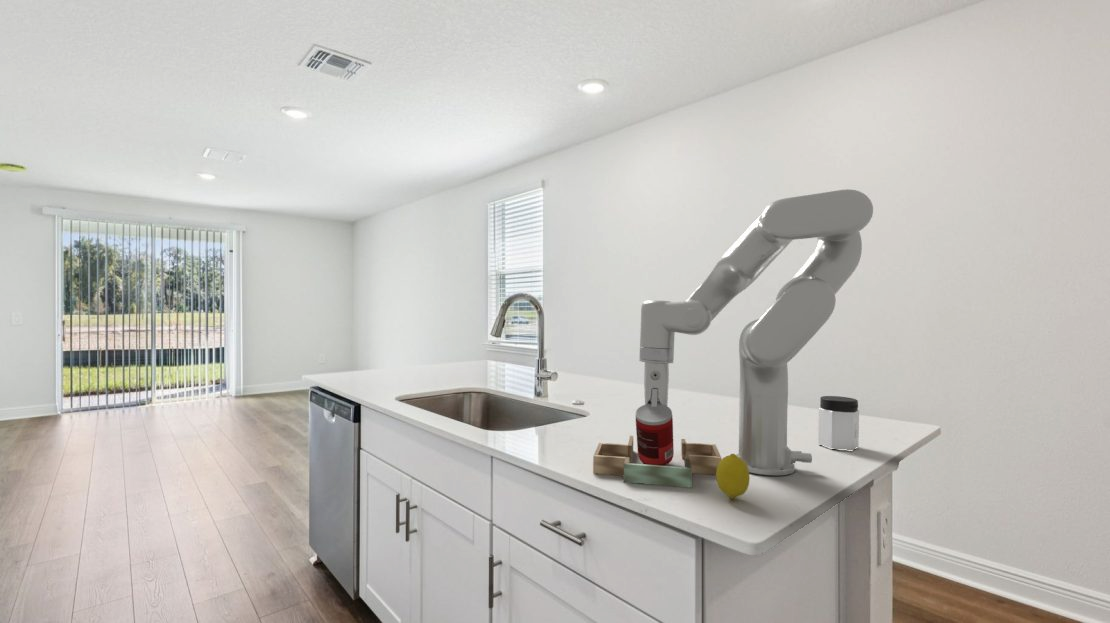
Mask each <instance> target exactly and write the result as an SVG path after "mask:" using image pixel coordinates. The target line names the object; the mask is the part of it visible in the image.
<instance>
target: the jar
mask: <svg viewBox="0 0 1110 623" xmlns="http://www.w3.org/2000/svg"><path fill="white" fill-rule="evenodd" d="M819 399H820V400H819V401H820V407H819V408H818V422H817V423H818V426H817V427H818V428H817V430H818V431H817V433H818V434H817V435H818V436H817V437H818V438H817V440H818V441H817V445H818V444H821V445H824V446H827V447H830V448H834V449H847V450H854V449H855V448H856V447H858V448H859V443H860V442H859V440H860V439H859V437H860V435H859V433H860V432H859V430H860V426H859V425H860V411H859V401H858V399H856V398H853V397H848V396H847V397H846V396H840V395H839V396H838V395H822V396H821V397H820V398H819ZM854 451H855V450H854Z"/></svg>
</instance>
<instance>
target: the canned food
mask: <svg viewBox="0 0 1110 623" xmlns="http://www.w3.org/2000/svg"><path fill="white" fill-rule="evenodd" d="M651 405H652V403H651V404H648V405H647V404H646V405H645V404H642V405H641V406H639V407H637V409H636V410H635V427H636V428H635V430H636V446H637V448H636V449H637V456H638V458H639V460H640V462H641V463H642V464H646V465H660V466H668V465H669V464H670V463H671V462H672V461H673V458H674V454H675V453H674V451H675V449H674V448H675V447H674V423H673V421H674V420H673V410H672V409H671V408H670V407H669V406H665V405H662V406H661V404H657V407H651Z"/></svg>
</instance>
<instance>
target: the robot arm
mask: <svg viewBox="0 0 1110 623" xmlns="http://www.w3.org/2000/svg"><path fill="white" fill-rule="evenodd" d="M873 215H874V205H873V203H872V201H871V199H870V198H869V196H868V195H866V194H865V193H864V192H861V191H860V190H855V189H847V188H846V189H838V190H831V191H825V192H819V193H811V194H805V195H797V196H791V197H786V198H781V199H777V200H774V201H772V202H771V203H770V204H769V205H767V206H766V207H765V208H764V210H763V211H762V213H761V214H760V215H759V216H757V218H756V219H755V220H754V221H753V222H752V224H750V226H748V228H746V230H745V231H744V232H743V234H741V236H740V237H739V238H738V239H737V240H736V241H735V242H734V243H733V244H732V246H731V247H730V248H729V249H727V251H726V252H725V253H724V254H723V255H722V256H721V257H720V259H719V260H718V262H716V264H715V265H714V268H712V271H711V272H710V273H709V275H708V276H707V277H706V279H704V281H703V282H702V283H701V284H700V285H699V286H698V287H697V288H696V289H695V291H693V293H692V294H690V295H689V297H688V298H687V299H686V300H685V301H683V300H682V301H674V302H673V301H669V300H658V299H657V300H652V299H651V300H645V301H644V302H642V304H641V308H640V309H641V310H640V312H641V313H640V331H639V332H640V336H639V337H640V338H639V362H642V363H644V378H643V380H644V381H643V384H644V385H643V387H644V388H643V389H644V390H643V391H644V405H646V404H647V405H648V404H651V403H652V405H651V407H657V404H661V406H662V405H665V406H667V407H669V406H668V403H669V402H668V401H669V383H670V382H669V380H670V378H669V375H670V372H669V370H670V368H669V366H670V365H669V364H673V363H674V357H675V356H674V355H675V333H676V334H677V333H678V334H682V335H683V334H684V335H688V336H697V335H701V334H702V333H705V332H706V331H707V330H708V329H709V327H710V325H711V322H712V321H713V320H714V319H715V318H716V317H717V316H718V315H719V314H720V312H722V311H723V309H724V308H726V306H728V305H729V303H730V302H731V301H732V300H734V298H736V297H737V296H738V295H739V294H740V293H742V292H743V291H745V290H746V289H748V287H749V286H751V285H752V284H753V283H754V282H755V281H756V280H757V279H758V278H759V277H760V276H761V275H762V274H763V272H765V271H766V269H767V268H768V267H769V266H770V265H771V264H772V263H773V262H774V260H776V258H778V256H779V255H781V253H782V252H783V251H785V249H786V248H787V247H788V246H789V245H790V244H791V242H793V241H794V240H795V241H796V240H803V239H805V240H807V239H815V238H816V239H817V243H816V248H815V249H814V251H813V252H812V253H811V255H810V256H809V257H808V258H807V260H806V262H804V264H803V265H802V266H801V267H800V269H798V270H797V272H796V273H795V274H794V275H793V276H792V277H791V278H790V279H789V280H788V281H787V282H786V283H785V284H784V285H782V287H781V288H780V289H779V290H778V292H777V294H776V297H775V301H774V302H773V303H772V304H771V305H770V307H768V308H767V310H766V311H765V312H764V313H763V315H761V317H759V318H757V319H754V320H752V321H750V322H749V323H748V324H747V325H745V326H744V328H743V329H742V330H741V332H740V335H739V336H740V337H739V340H738V348H739V349H738V352H739V353H738V354H739V402H738V403H739V404H738V405H739V411H738V412H739V413H738V414H739V415H738V417H739V418H738V454H737V453H736V454H735V455H736V456H738V457H740V458H741V459H742V460H743V461H744V462H745V463H746V465H747V467H748V470H749V474H757V475H763V476H786V475H791V474H793V473H794V472H795V469H796V468H795V467H796V465H795V464H796V462H799V463H800V462H801V463H805V464H812V462H813V455H812V453H811V452H810V453H809V452H802V451H801V450H791V449H790V447H788V409H789V408H788V407H789V406H788V403H789V402H788V400H789V399H788V398H789V397H788V396H789V373H788V370H789V369H788V363H789V362H790V361H792V360H793V359H794V357H795V356H797V354H798V353H799V352H801V350H802V349H803V348H804V347H805V346H806V345H807V344H808V343H809V341H810V340H812V338H813V337H814V336H815V335H816V334H817V333H818V332H819V330H821V329H822V327H823V326H824V325H825V324H826V323H827V321H828V320H829V319H830V318H831V316H832V314H833V313H834V310H835V307H836V303H837V302H836V295H837V293H838V291H840V289H841V288H842V287H843V286H844V285H845V284H846V282H847V281H848V279H850V277H851V276H852V275H853V273H854V272H855V271H856V270H857V267H858V266H859V263H860V260H861V257H862V248H863V247H862V246H863V244H862V237H861V234H860V233H861V231H862V230H863V229H864V228H866V226H868V225H869V223H870V222H871V219H872V218H873Z"/></svg>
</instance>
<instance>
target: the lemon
mask: <svg viewBox="0 0 1110 623" xmlns="http://www.w3.org/2000/svg"><path fill="white" fill-rule="evenodd" d="M736 455H737V454H735V453H730V455H729V454H728V455H725V456H724V457H722V458H721V461H720V462H719V464H718V467H717V472H716V475H715V477H716V483H717V486H718V488H719V490H720V491H721V492H722V493H723V494H725V495H727V496H728V497H729V499H730V500H734V499H736V498H737V497H740V496H742V495H744V494H745V493H746V492H747V490H748V488H749V486H750V472H749V470H748V467H747V465H746V463H745V462H744V461H743V460H742V459H741V458H740V457H738V456H736Z"/></svg>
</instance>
